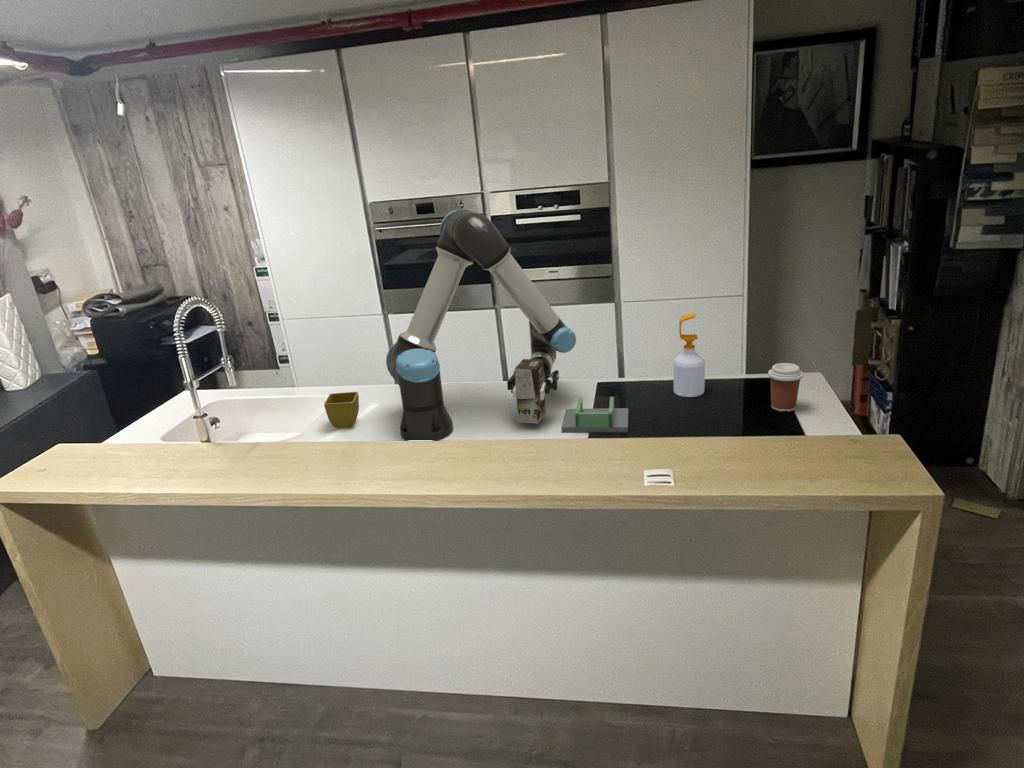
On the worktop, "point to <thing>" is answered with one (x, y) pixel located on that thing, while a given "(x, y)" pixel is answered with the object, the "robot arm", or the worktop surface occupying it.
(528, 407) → the coffee box
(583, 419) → the chute bracket
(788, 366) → the coffee cup
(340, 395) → the flower pot
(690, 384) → the soap bottle
